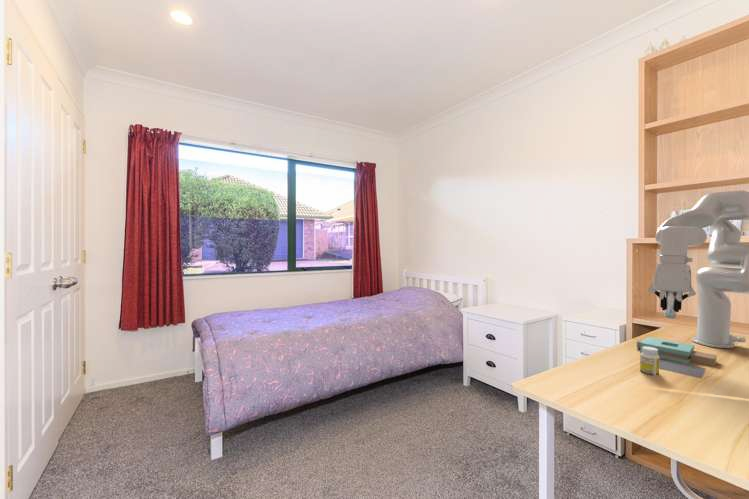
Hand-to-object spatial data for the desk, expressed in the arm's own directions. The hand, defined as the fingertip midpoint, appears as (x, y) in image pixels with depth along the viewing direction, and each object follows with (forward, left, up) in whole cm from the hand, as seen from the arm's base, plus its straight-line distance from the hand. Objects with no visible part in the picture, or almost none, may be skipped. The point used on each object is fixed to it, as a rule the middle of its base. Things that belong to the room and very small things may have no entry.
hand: (670, 310), depth 125 cm
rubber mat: (+3, +14, -17) cm, 22 cm away
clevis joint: (-1, 0, -17) cm, 17 cm away
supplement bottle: (+14, +22, -17) cm, 31 cm away
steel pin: (0, 0, -3) cm, 3 cm away
